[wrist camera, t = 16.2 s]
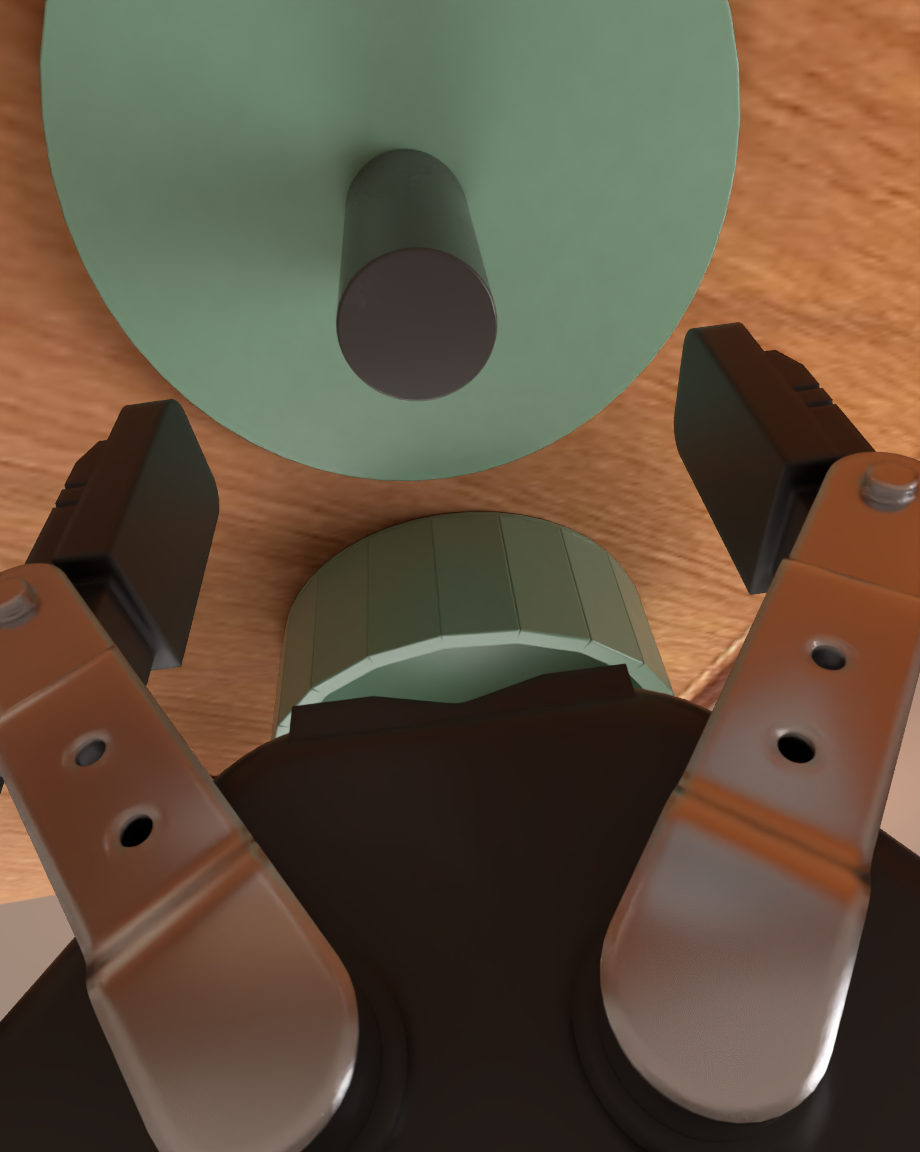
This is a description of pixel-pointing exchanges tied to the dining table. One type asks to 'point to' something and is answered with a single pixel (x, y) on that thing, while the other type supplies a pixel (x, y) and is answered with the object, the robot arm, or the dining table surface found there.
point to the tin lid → (394, 208)
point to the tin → (461, 614)
